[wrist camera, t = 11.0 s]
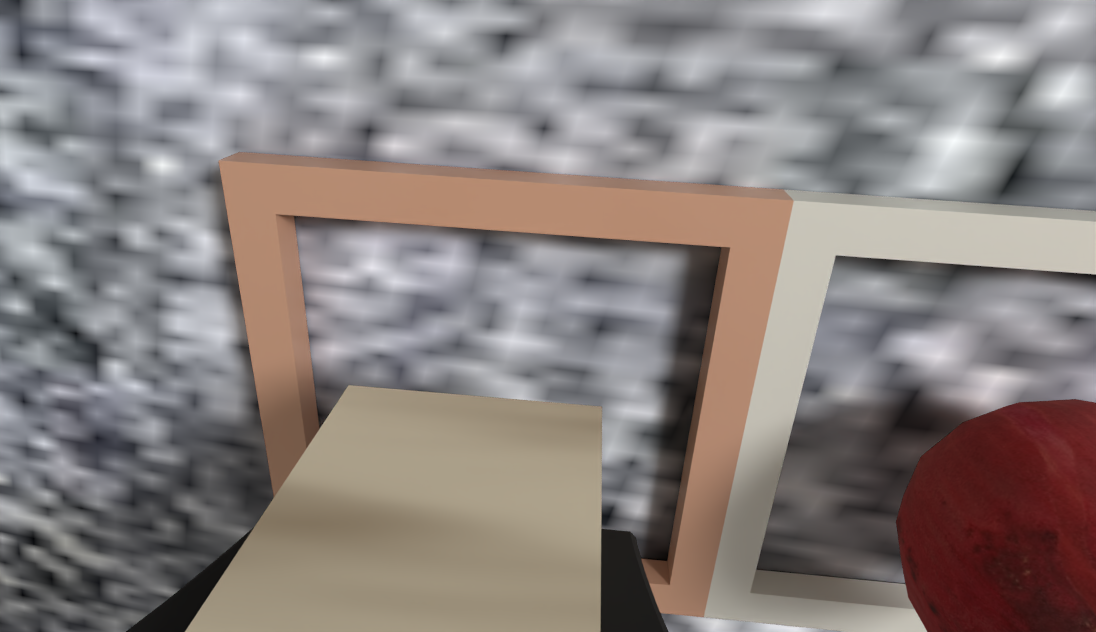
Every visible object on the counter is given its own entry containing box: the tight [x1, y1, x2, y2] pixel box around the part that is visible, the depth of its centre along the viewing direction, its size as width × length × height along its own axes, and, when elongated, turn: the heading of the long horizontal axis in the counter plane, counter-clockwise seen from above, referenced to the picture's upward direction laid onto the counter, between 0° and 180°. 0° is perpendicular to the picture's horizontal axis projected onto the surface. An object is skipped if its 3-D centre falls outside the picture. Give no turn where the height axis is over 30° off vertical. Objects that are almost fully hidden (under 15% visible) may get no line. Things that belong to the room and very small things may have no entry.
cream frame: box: [704, 190, 1096, 632], centre depth 15 cm, size 11×11×1 cm
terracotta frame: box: [219, 152, 794, 617], centre depth 15 cm, size 11×11×1 cm
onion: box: [896, 399, 1096, 632], centre depth 12 cm, size 6×6×8 cm
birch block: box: [185, 385, 602, 632], centre depth 10 cm, size 4×4×6 cm
